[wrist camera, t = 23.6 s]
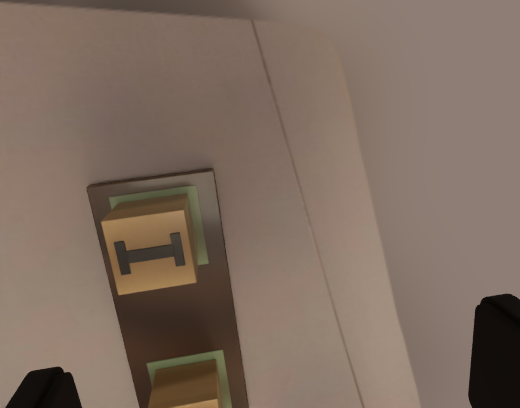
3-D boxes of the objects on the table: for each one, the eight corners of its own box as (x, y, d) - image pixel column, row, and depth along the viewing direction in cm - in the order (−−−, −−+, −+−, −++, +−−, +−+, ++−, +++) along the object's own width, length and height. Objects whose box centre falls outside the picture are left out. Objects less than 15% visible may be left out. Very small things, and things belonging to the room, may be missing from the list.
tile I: (117, 202, 27) (99, 222, 23) (187, 193, 28) (183, 210, 23) (132, 266, 28) (117, 296, 24) (198, 256, 29) (196, 284, 24)
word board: (90, 184, 28) (85, 187, 27) (213, 168, 28) (213, 170, 27) (147, 425, 34) (145, 436, 33) (248, 406, 34) (249, 416, 33)
